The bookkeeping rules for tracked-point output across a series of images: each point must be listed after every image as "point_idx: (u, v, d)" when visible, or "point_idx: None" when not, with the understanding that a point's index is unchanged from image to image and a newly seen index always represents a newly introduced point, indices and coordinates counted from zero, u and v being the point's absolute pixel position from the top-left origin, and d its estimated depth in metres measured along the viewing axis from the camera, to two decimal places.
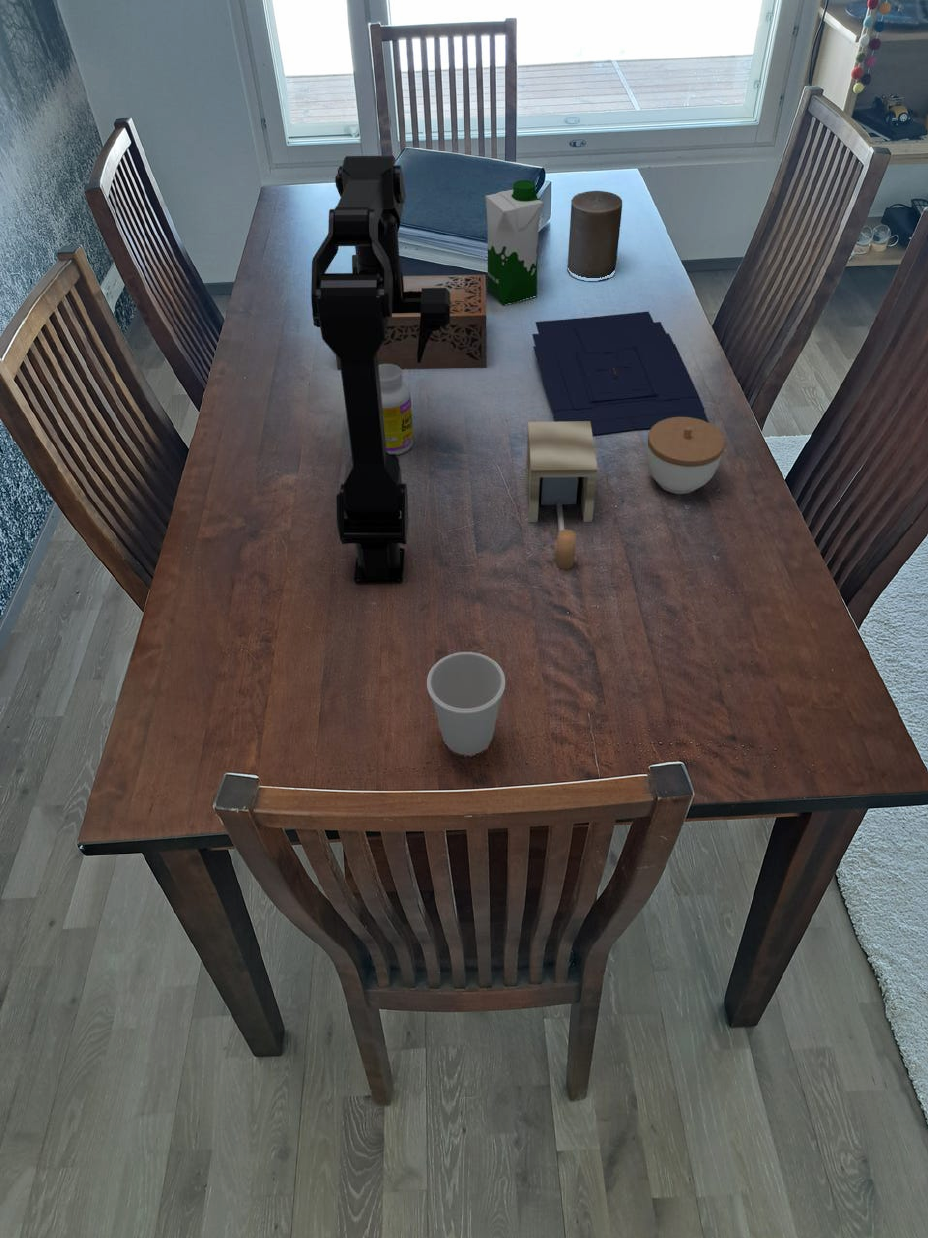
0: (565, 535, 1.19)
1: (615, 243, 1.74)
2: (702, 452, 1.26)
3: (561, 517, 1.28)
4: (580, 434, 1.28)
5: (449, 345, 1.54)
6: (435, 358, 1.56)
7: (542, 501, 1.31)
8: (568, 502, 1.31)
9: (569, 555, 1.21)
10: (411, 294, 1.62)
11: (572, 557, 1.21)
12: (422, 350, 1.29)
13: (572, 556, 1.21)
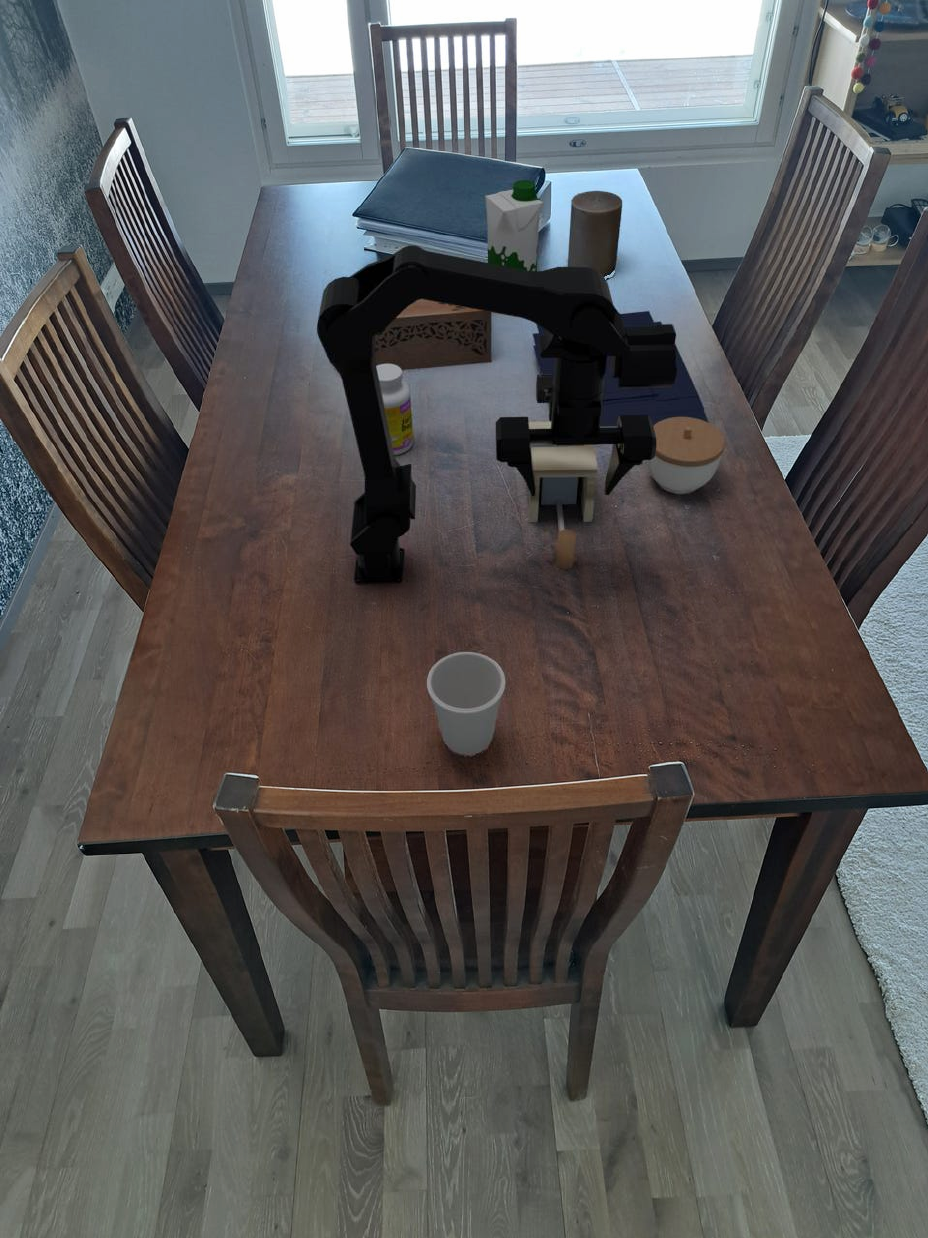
0: (565, 535, 1.19)
1: (615, 243, 1.74)
2: (702, 452, 1.26)
3: (561, 517, 1.28)
4: None
5: (454, 342, 1.55)
6: (441, 356, 1.56)
7: (542, 501, 1.31)
8: (568, 502, 1.31)
9: (569, 555, 1.21)
10: None
11: (572, 557, 1.21)
12: (615, 483, 1.11)
13: (572, 556, 1.21)
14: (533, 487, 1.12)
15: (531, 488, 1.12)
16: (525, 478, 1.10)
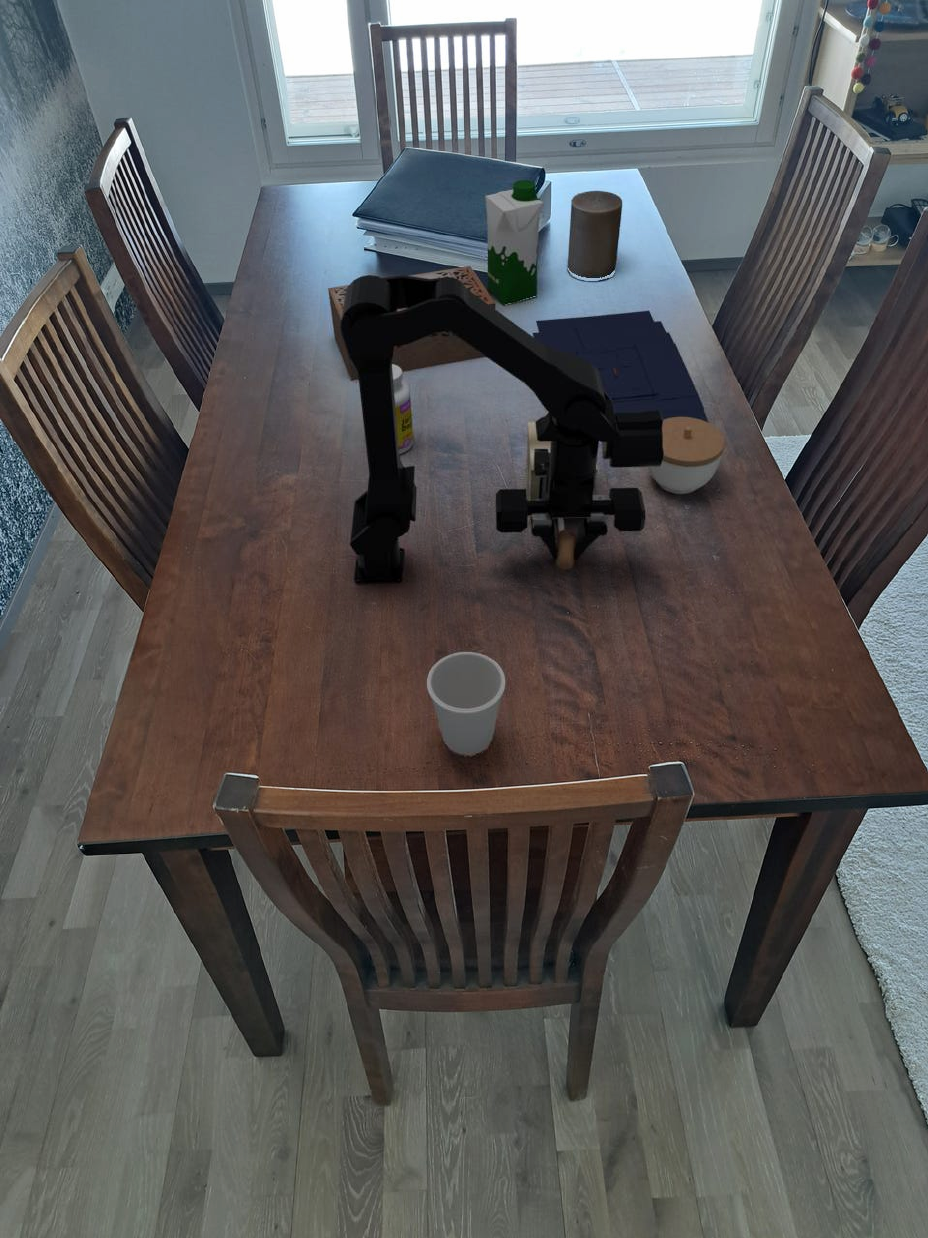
0: (565, 535, 1.19)
1: (615, 243, 1.74)
2: (702, 452, 1.26)
3: None
4: None
5: (459, 338, 1.56)
6: (446, 353, 1.57)
7: None
8: None
9: (569, 555, 1.21)
10: None
11: (572, 557, 1.21)
12: (582, 550, 1.19)
13: (572, 556, 1.21)
14: (555, 552, 1.20)
15: (553, 553, 1.20)
16: (548, 545, 1.18)
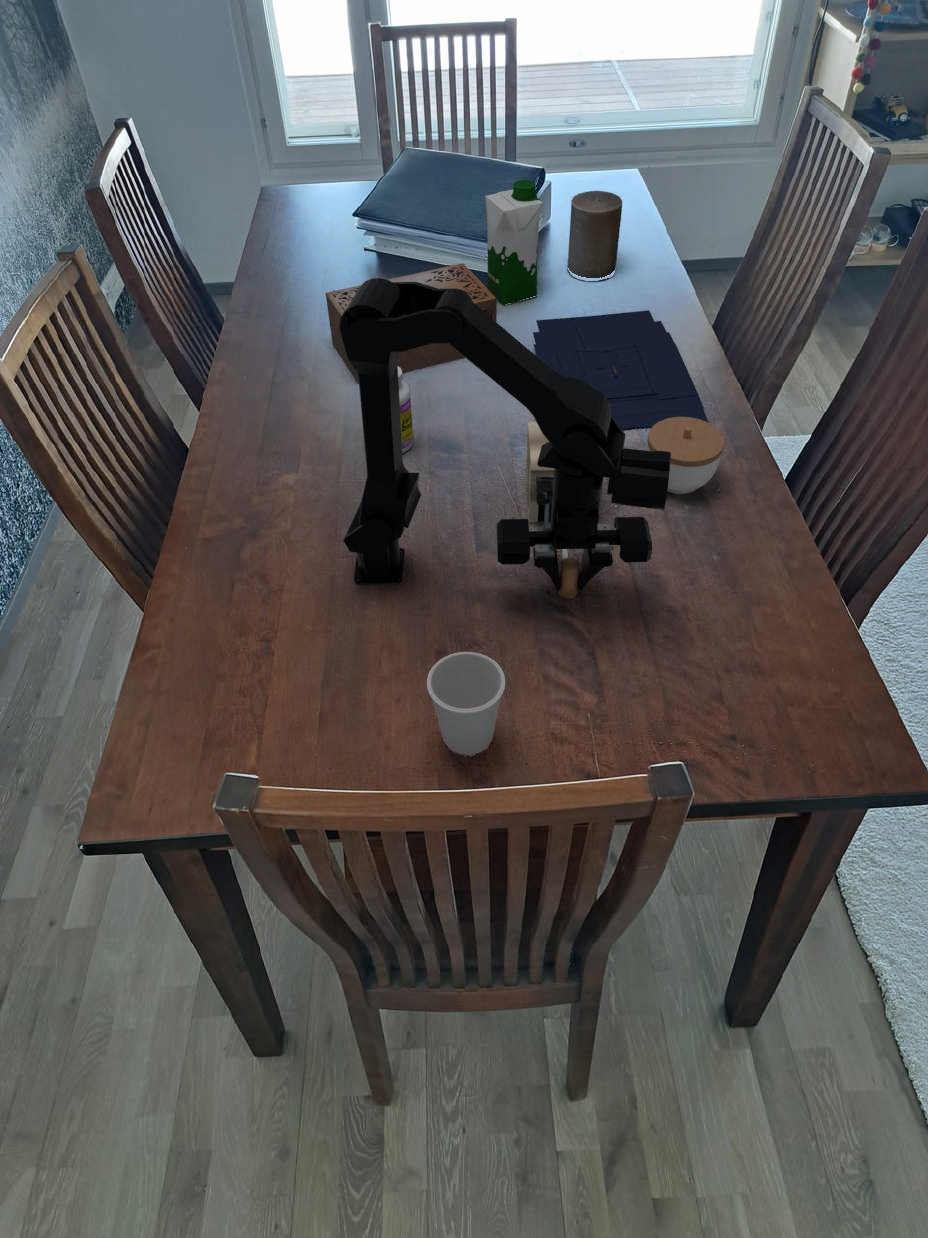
0: (568, 564, 1.16)
1: (615, 243, 1.74)
2: (702, 452, 1.26)
3: None
4: None
5: None
6: (450, 351, 1.57)
7: (545, 526, 1.28)
8: None
9: (573, 584, 1.17)
10: None
11: (575, 586, 1.17)
12: (587, 581, 1.15)
13: (575, 585, 1.17)
14: (558, 583, 1.16)
15: (556, 584, 1.16)
16: (551, 576, 1.14)
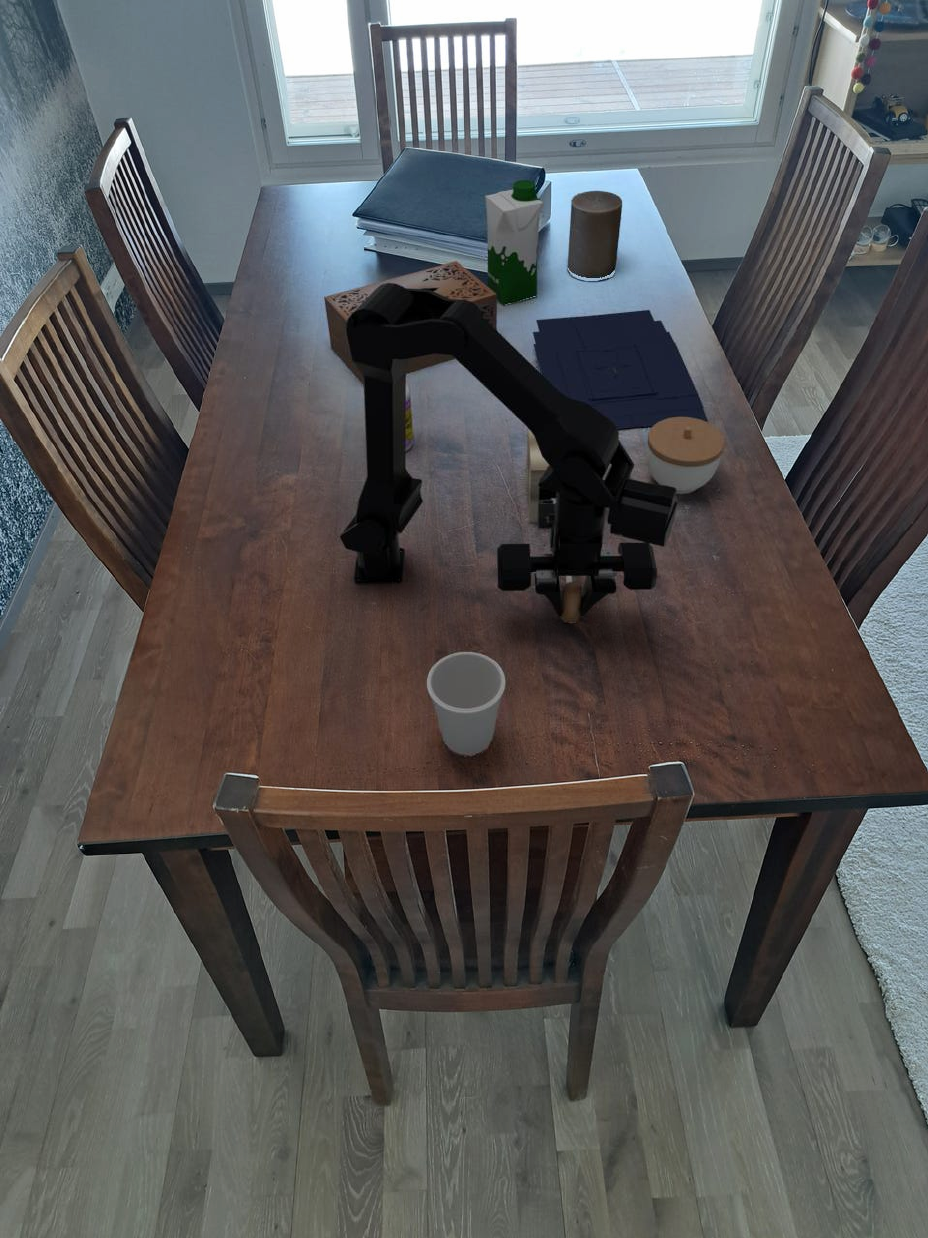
0: (571, 588, 1.13)
1: (615, 243, 1.74)
2: (702, 452, 1.26)
3: None
4: None
5: None
6: None
7: (550, 546, 1.25)
8: None
9: (575, 609, 1.14)
10: None
11: (578, 611, 1.14)
12: (589, 607, 1.12)
13: (578, 610, 1.14)
14: (560, 610, 1.13)
15: (558, 610, 1.13)
16: (553, 603, 1.11)
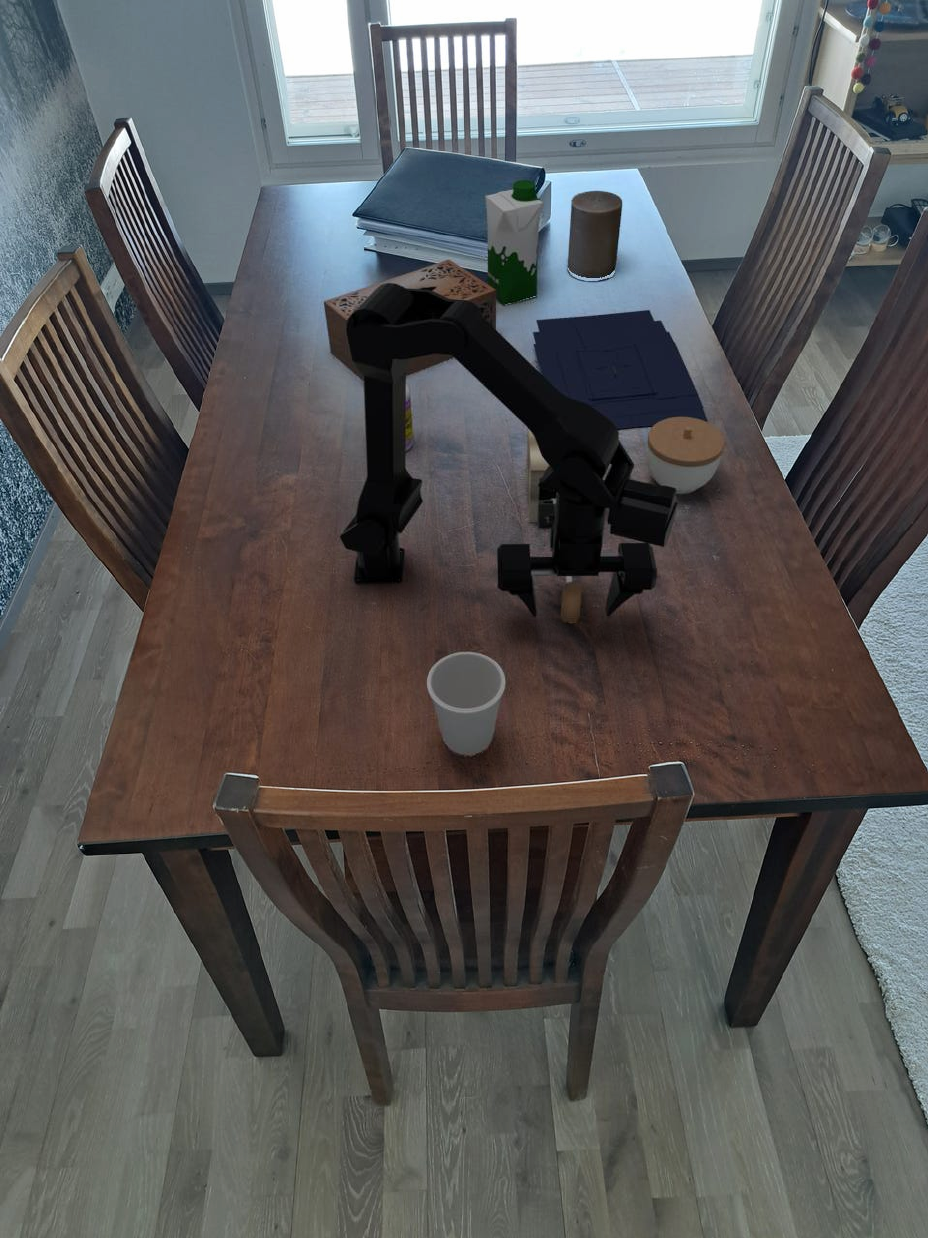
0: (571, 588, 1.13)
1: (615, 243, 1.74)
2: (702, 452, 1.26)
3: None
4: None
5: None
6: None
7: (550, 547, 1.25)
8: None
9: (575, 609, 1.14)
10: None
11: (578, 611, 1.14)
12: (615, 608, 1.12)
13: (578, 610, 1.14)
14: (534, 610, 1.13)
15: (532, 611, 1.13)
16: (526, 603, 1.11)
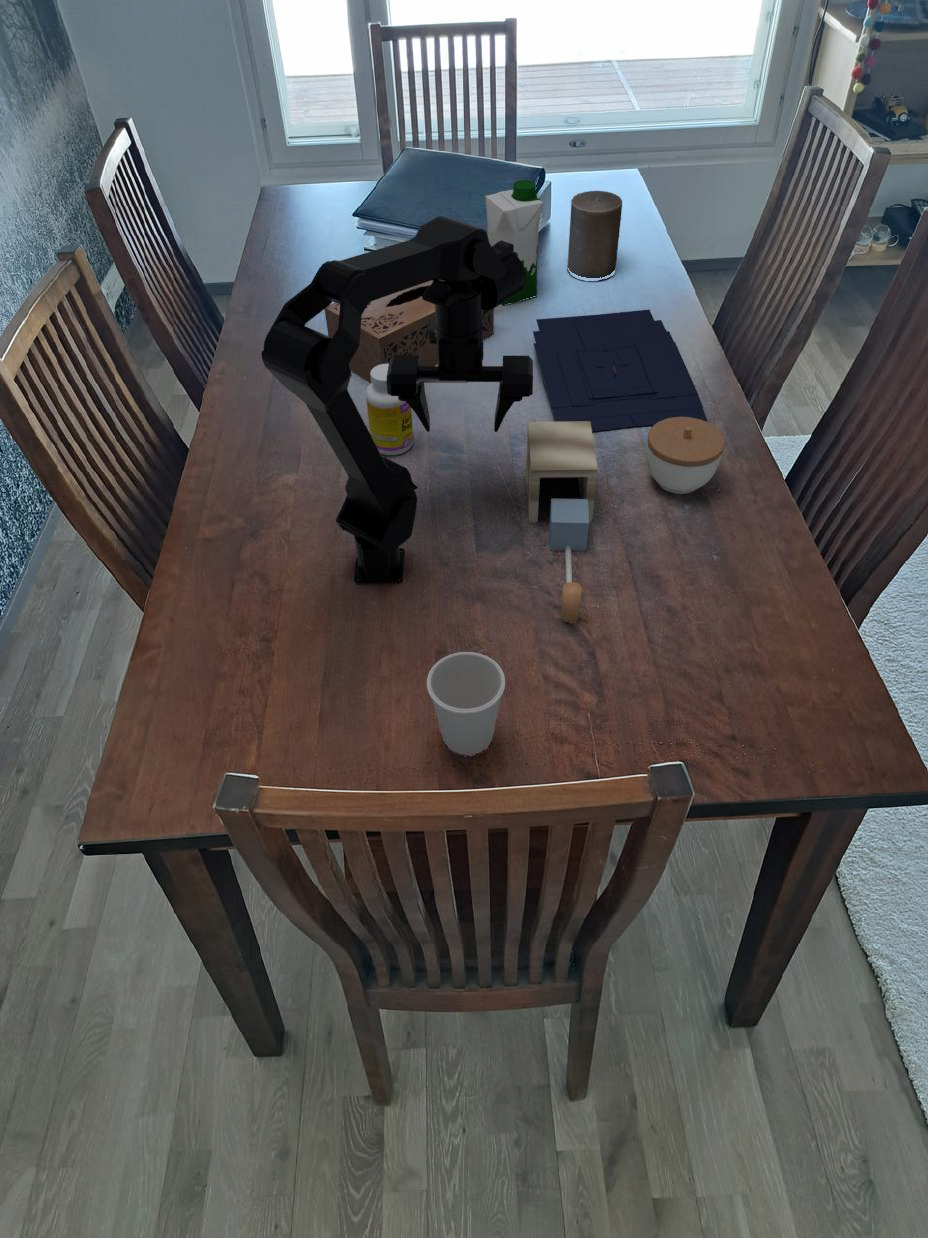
0: (570, 588, 1.13)
1: (615, 243, 1.74)
2: (702, 452, 1.26)
3: (569, 565, 1.22)
4: (580, 434, 1.28)
5: None
6: None
7: (550, 547, 1.25)
8: (578, 548, 1.24)
9: (575, 609, 1.14)
10: None
11: (578, 611, 1.14)
12: (500, 420, 1.21)
13: (578, 610, 1.14)
14: (426, 422, 1.22)
15: (424, 423, 1.22)
16: (416, 412, 1.20)
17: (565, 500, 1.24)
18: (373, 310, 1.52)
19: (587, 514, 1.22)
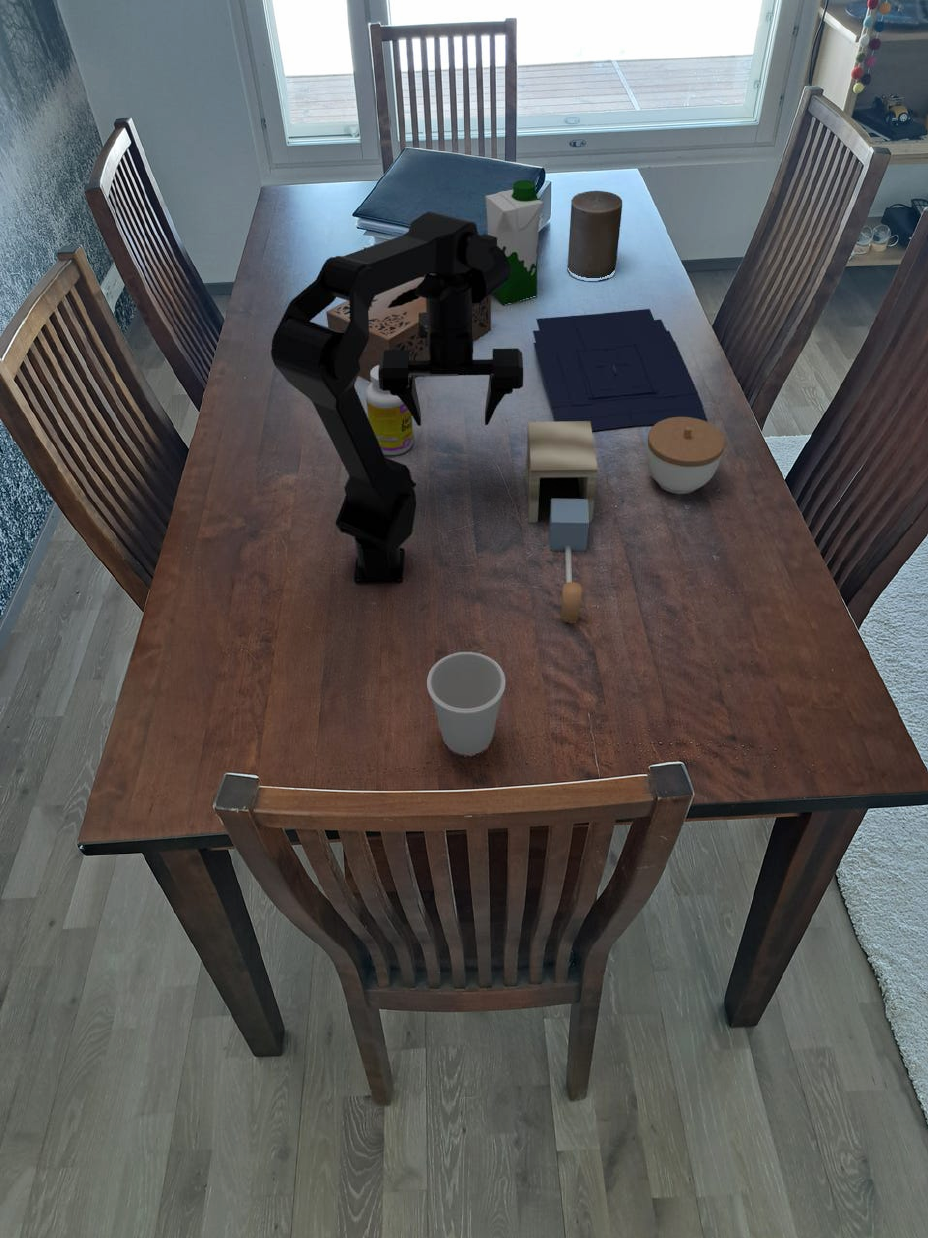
0: (570, 588, 1.13)
1: (615, 243, 1.74)
2: (702, 452, 1.26)
3: (569, 565, 1.22)
4: (580, 434, 1.28)
5: None
6: None
7: (550, 547, 1.25)
8: (578, 548, 1.24)
9: (575, 609, 1.14)
10: None
11: (578, 611, 1.14)
12: (491, 412, 1.22)
13: (578, 610, 1.14)
14: (417, 416, 1.23)
15: (415, 417, 1.23)
16: (408, 407, 1.21)
17: (565, 500, 1.24)
18: (376, 311, 1.51)
19: (587, 514, 1.22)
